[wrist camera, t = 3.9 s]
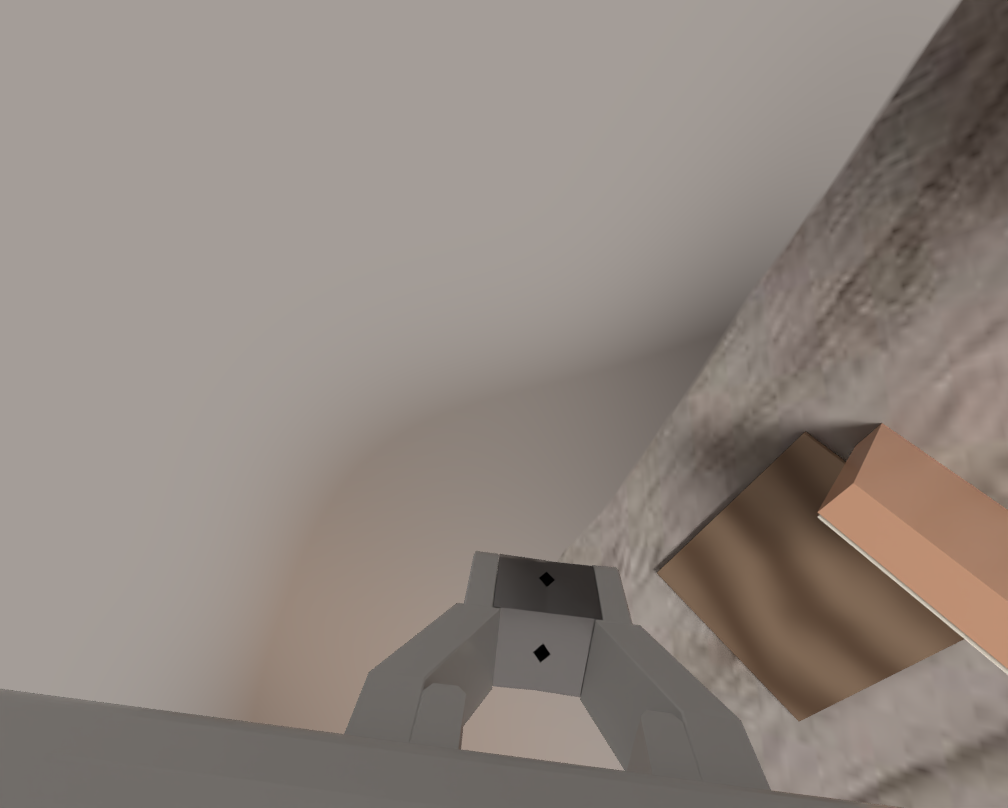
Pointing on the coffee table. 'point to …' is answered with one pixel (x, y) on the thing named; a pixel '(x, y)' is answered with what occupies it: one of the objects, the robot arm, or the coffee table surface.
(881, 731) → the coffee table surface
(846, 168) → the coffee table surface
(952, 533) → the terracotta tile
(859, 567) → the walnut board
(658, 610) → the coffee table surface
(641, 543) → the coffee table surface
